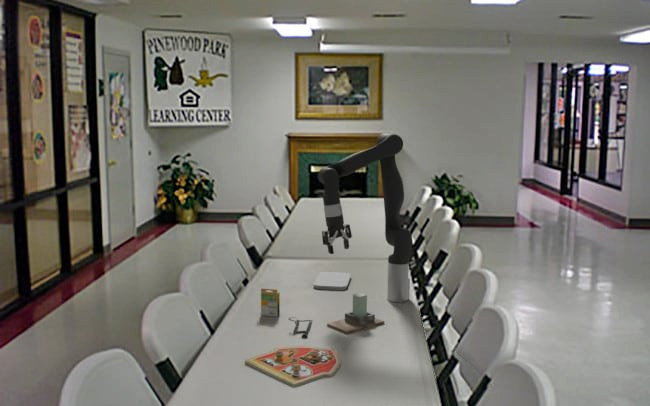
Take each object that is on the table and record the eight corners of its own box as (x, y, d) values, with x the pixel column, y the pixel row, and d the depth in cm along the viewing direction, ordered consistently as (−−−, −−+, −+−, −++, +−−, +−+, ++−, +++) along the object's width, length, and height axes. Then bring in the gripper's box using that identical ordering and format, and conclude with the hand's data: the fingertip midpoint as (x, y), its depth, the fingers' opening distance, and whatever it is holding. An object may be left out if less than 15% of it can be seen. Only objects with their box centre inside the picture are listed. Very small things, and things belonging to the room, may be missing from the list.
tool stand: (364, 316, 276) (364, 306, 276) (384, 323, 267) (384, 313, 267) (327, 325, 264) (327, 316, 263) (347, 334, 255) (347, 324, 254)
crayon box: (279, 314, 277) (279, 287, 275) (277, 317, 274) (277, 289, 272) (263, 313, 279) (263, 286, 277) (260, 315, 276) (260, 288, 274)
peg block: (359, 319, 269) (360, 292, 268) (366, 321, 266) (367, 295, 265) (352, 321, 267) (352, 294, 265) (359, 323, 264) (359, 296, 262)
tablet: (351, 277, 339) (351, 273, 339) (346, 291, 314) (346, 286, 313) (320, 276, 341) (320, 271, 341) (312, 289, 316) (312, 285, 316)
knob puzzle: (241, 363, 226) (241, 351, 226) (305, 342, 247) (305, 331, 246) (298, 390, 206) (298, 377, 205) (363, 365, 226) (363, 352, 225)
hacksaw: (307, 339, 249) (307, 335, 249) (280, 338, 250) (280, 334, 250) (314, 319, 273) (314, 315, 273) (289, 318, 274) (289, 314, 274)
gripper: (326, 218, 274) (332, 256, 276) (352, 211, 283) (357, 247, 285) (315, 217, 280) (321, 254, 282) (340, 210, 288) (346, 246, 291)
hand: (339, 251), depth 284 cm, fingers open, 8 cm apart
